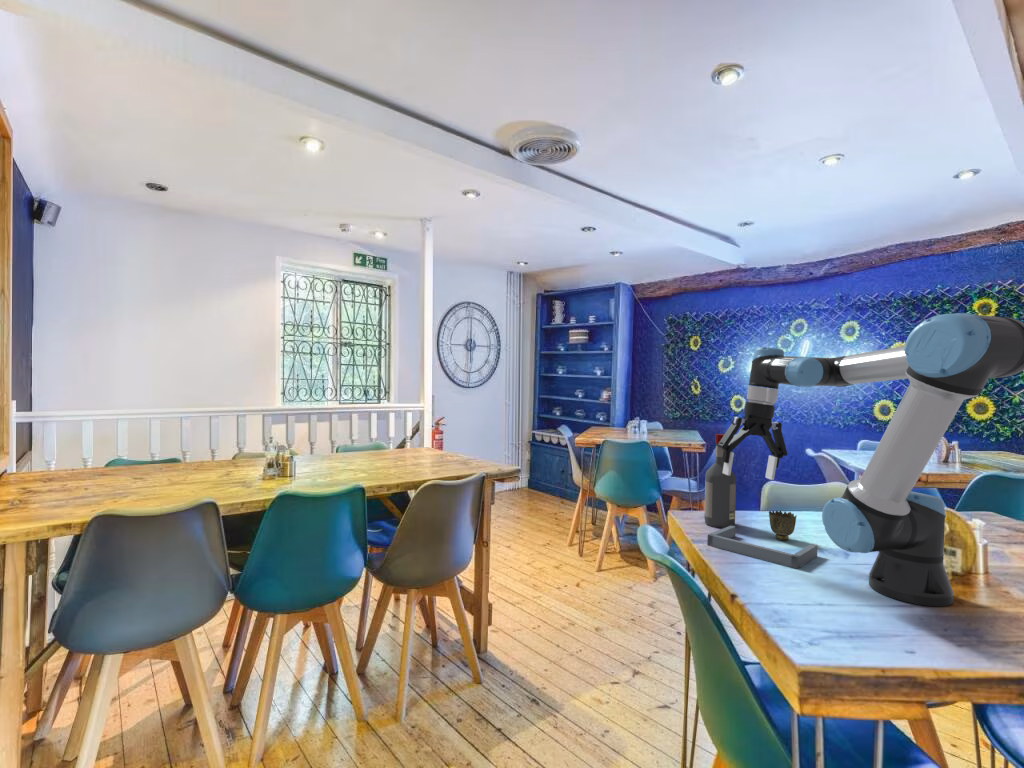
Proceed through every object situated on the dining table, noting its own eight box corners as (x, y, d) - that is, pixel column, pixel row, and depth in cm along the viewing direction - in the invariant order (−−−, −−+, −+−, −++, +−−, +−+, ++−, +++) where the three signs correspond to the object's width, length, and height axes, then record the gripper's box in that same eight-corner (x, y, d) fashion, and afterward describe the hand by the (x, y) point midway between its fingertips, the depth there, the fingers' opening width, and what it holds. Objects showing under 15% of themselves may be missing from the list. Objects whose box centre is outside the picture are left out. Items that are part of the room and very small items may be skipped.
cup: (800, 544, 149) (800, 517, 149) (773, 542, 150) (773, 515, 150) (790, 536, 156) (790, 510, 156) (764, 534, 158) (765, 509, 158)
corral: (817, 556, 139) (817, 545, 139) (797, 568, 129) (797, 557, 129) (730, 535, 157) (730, 525, 157) (707, 544, 147) (707, 534, 147)
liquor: (705, 526, 166) (707, 435, 166) (704, 519, 175) (706, 432, 174) (735, 529, 163) (737, 436, 163) (732, 522, 172) (734, 434, 171)
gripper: (790, 406, 147) (778, 477, 149) (712, 395, 143) (700, 469, 145) (809, 409, 140) (796, 484, 141) (728, 398, 136) (715, 475, 137)
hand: (748, 476), depth 143 cm, fingers open, 13 cm apart
